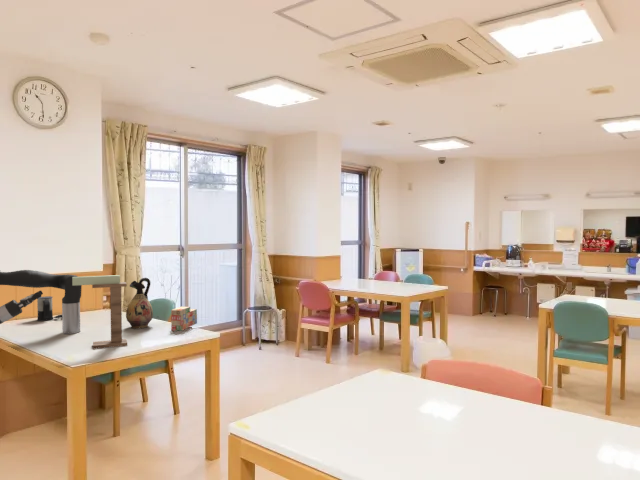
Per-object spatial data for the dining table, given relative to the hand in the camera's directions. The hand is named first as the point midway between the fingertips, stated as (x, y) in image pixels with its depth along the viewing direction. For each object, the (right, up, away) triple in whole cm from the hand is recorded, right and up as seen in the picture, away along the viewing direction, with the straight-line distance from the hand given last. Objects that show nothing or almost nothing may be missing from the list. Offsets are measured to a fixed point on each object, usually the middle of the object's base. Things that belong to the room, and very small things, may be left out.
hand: (41, 293), depth 249 cm
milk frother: (-36, -26, +77) cm, 89 cm away
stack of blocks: (+57, -27, +54) cm, 83 cm away
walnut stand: (+31, -28, +8) cm, 42 cm away
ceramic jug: (+31, -27, +54) cm, 67 cm away
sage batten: (+26, +4, +5) cm, 26 cm away
